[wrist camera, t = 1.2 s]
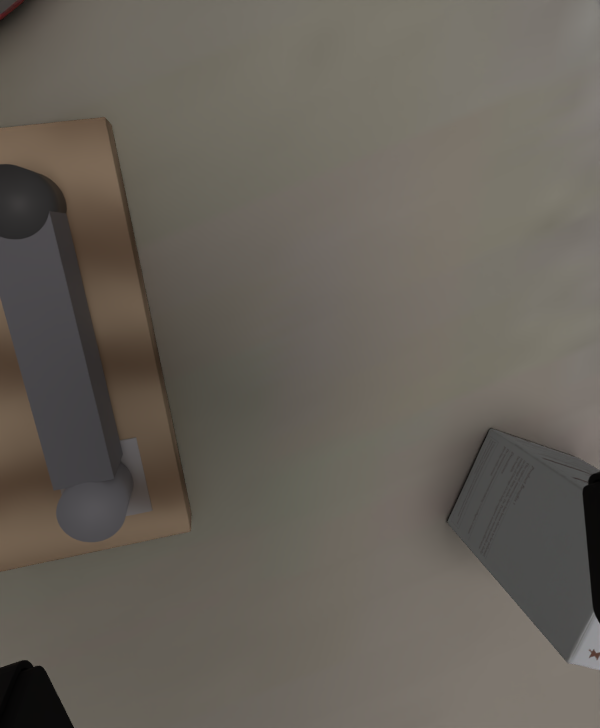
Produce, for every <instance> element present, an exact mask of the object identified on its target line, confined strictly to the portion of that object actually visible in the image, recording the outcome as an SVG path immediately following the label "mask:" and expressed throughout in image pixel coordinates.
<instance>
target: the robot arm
mask: <svg viewBox="0 0 600 728" xmlns="http://www.w3.org/2000/svg"><path fill="white" fill-rule="evenodd" d="M582 495H583V506H584V517H585V528H586V539H587V550H588V561H589V572H590V583H591V594H592V605H593V611H594V613H595V616H596V618H597V620H598V622H599V623H600V472H597V473H594V474H592V475H591V476H590V477H589V480H588V485H586V486H584V488H583V492H582ZM0 728H74V727H73V725H72V723H71V721H70V719H69V717H68V715H67V713H66V711H65V709H64V707H63V705H62V703H61V701H60V699H59V697H58V695H57V693H56V691H55V689H54V687H53V685H52V683H51V681H50V679H49V677H48V675H47V673H46V671H45V670H44V668H43V667H41V666H36V667H33V665H32V664H31V663H30V662H29V661H27V660H22V661H19V662H16V663H13V664H10V665H7V666H4V667H1V668H0Z"/></svg>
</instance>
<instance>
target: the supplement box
mask: <svg viewBox="0 0 600 728" xmlns="http://www.w3.org/2000/svg"><path fill="white" fill-rule="evenodd" d="M597 472H600V470H598V469H597V468H595V467H593V466H592V465H590V464H588V463H587V462H585V461H583V460H581V459H579V458H577V457H574V456H571V455H568V454H565V453H562V452H559V451H556V450H553V449H550V448H547V447H544V446H541V445H539V444H536V443H533V442H530V441H527V440H524V439H521V438H518V437H516V436H513V435H510V434H507V433H504V432H501V431H498V430H495V429H490V430H489V432H488V434H487V437H486V439H485V441H484V443H483V445H482V447H481V450H480V452H479V454H478V456H477V458H476V461H475V463H474V465H473V467H472V469H471V472H470V474H469V476H468V478H467V480H466V483H465V485H464V487H463V489H462V491H461V493H460V496H459V498H458V500H457V502H456V504H455V506H454V509H453V511H452V513H451V515H450V517H449V519H448V522H447V523H448V524H449V525H450V527H451V528H452V529H453V530H454V531H455V532H456V534H457V535H458V536H459V537H460V538H461V539H462V541H463V542H464V543H465V544H466V545H467V546H468V547H469V549H470V550H471V551H472V552H473V553H474V555H475V556H476V557H477V558H478V559H479V560H480V561H481V563H482V564H483V565H484V566H485V567H486V568H487V570H488V571H489V572H490V573H491V574H492V575H493V577H494V578H495V579H496V580H497V581H498V582H499V584H500V585H501V586H502V587H503V588H504V589H505V591H506V592H507V593H508V594H509V595H510V596H511V598H512V599H513V600H514V601H515V602H516V603H517V604H518V606H519V607H520V608H521V609H522V610H523V612H524V613H525V614H526V615H527V616H528V617H529V619H530V620H531V621H532V622H533V623H534V624H535V626H536V627H537V628H538V629H539V630H540V631H541V632H542V634H543V635H544V636H545V637H546V638H547V639H548V641H549V642H550V643H551V644H552V645H553V646H554V648H555V649H556V650H557V651H558V652H559V654H560V655H561V656H562V657H563V658H564V660H565V661H566V662H567V663H570V664H575V665H580V666H585V667H588V668H593V669H597V670H600V623H599V622H598V620H597V618H596V616H595V613H594V611H593V605H592V594H591V583H590V572H589V561H588V550H587V539H586V528H585V517H584V506H583V495H582V492H583V488H584V486H586V485H588V480H589V477H590V476H591V475H592V474H594V473H597Z"/></svg>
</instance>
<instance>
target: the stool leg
mask: <svg viewBox="0 0 600 728" xmlns="http://www.w3.org/2000/svg"><path fill="white" fill-rule="evenodd" d="M66 211H67V207H66V201H65V197H64V195H63V193H62V191H61V190H60V188H59V187H58V186H57V185H56V183H55V182H53V181H52V180H51V179H49V178H48V177H46V176H44V175H42V174H39V173H36V172H34V171H31V170H28V169H25V168H22V167H19V166H17V165H12V164H0V299H1V302H2V306H3V309H4V313H5V317H6V320H7V324H8V328H9V331H10V335H11V338H12V342H13V346H14V349H15V353H16V356H17V360H18V364H19V367H20V371H21V374H22V378H23V382H24V385H25V389H26V393H27V396H28V400H29V403H30V407H31V411H32V414H33V418H34V421H35V425H36V429H37V432H38V436H39V439H40V443H41V447H42V450H43V454H44V458H45V461H46V465H47V468H48V472H49V476H50V479H51V483H52V486H53V490H54V491H55V490H60V489H65V490H64V492H63V494H62V496H61V498H60V500H59V502H58V504H57V508H56V517H57V521H58V523H59V525H60V527H61V528H62V530H63V531H64V532H65V533H66V534H67V535H69V536H70V537H72V538H74V539H76V540H79V541H83V542H99V541H103V540H105V539H108V538H110V537H111V536H113V535H114V534H115V533H117V532H118V531H119V529H120V528H121V527H122V525H123V523H124V520H125V517H126V513H127V509H128V506H129V502H130V498H131V494H132V491H133V478H132V475H131V473H130V471H129V470H128V469H127V467H126V466H125V465H123V464H122V463H121V462H120V461H121V458H122V455H123V452H122V448H121V444H120V440H119V435H118V431H117V427H116V423H115V418H114V414H113V410H112V406H111V401H110V397H109V393H108V389H107V384H106V380H105V376H104V372H103V367H102V363H101V359H100V355H99V350H98V346H97V342H96V338H95V333H94V329H93V325H92V321H91V316H90V312H89V308H88V304H87V299H86V295H85V291H84V287H83V282H82V278H81V274H80V270H79V265H78V261H77V257H76V253H75V248H74V244H73V240H72V236H71V231H70V227H69V223H68V219H67V214H66Z"/></svg>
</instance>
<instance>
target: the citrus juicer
mask: <svg viewBox="0 0 600 728" xmlns="http://www.w3.org/2000/svg"><path fill="white" fill-rule="evenodd" d="M23 1H24V0H0V20H2V19H3V18H4V17H6V16H7V15H8V14H9V13H10V12H12V11H13V10H14V9H15V8H17V7H18V6H19V5H20V4H22V3H23Z"/></svg>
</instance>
